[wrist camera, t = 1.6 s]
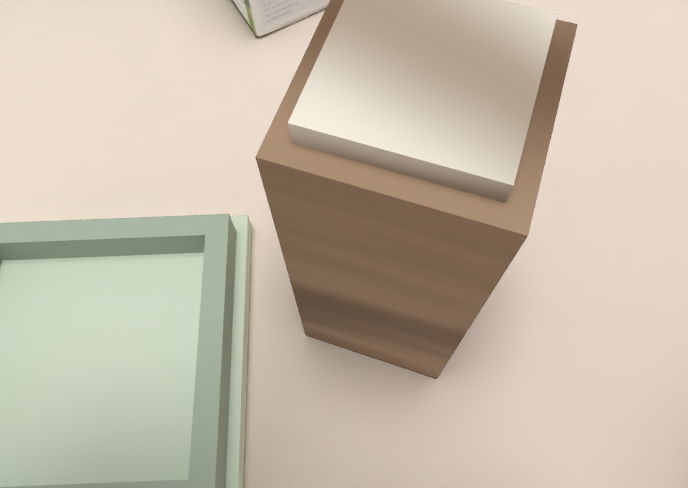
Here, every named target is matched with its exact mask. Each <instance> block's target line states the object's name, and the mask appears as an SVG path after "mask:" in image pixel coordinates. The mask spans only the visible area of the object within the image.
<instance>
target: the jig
mask: <svg viewBox="0 0 688 488" xmlns="http://www.w3.org/2000/svg"><path fill="white" fill-rule="evenodd" d="M251 239H252V226H251V223H250V220H249V217H248V215H242V216H230V215H229V214H214V215H189V216H164V217H139V218H114V219H89V220H64V221H39V222H14V223H0V488H243V485H244V454H245V424H246V393H247V362H248V331H249V301H250V270H251Z"/></svg>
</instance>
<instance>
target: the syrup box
mask: <svg viewBox="0 0 688 488" xmlns="http://www.w3.org/2000/svg"><path fill="white" fill-rule="evenodd" d="M232 1H233V3H234V4H235V6H236V7H237V9H238V10H239V11H240V13H241V14H242V16H243V17H244V19H245V20H246V22H247V23H248V25H249V26H250V28H251V29H252V30H253V32H254V33H255V35H257V36H262V35H265V34H268V33H270V32H273V31H275V30H278V29H280V28H283V27H285V26H288V25H290V24H292V23H294V22H297V21H299V20H301V19H303V18H306V17H308V16H310V15H312V14H314V13H316V12H319V11H321V10H323V9H325V8H327V6H328V4H329V2H330V0H232Z"/></svg>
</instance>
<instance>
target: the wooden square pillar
mask: <svg viewBox="0 0 688 488" xmlns="http://www.w3.org/2000/svg"><path fill="white" fill-rule="evenodd" d="M557 14H558V13H554V12H550V11H546V10H541V9H537V8H533V7H528V6H524V5H520V4H515V3H511V2H507V1H502V0H330V2H329V4H328V6H327V8H326V10H325V12H324V14H323V16H322V19H321V21H320V23H319V25H318V27H317V29H316V31H315V33H314V35H313V37H312V40H311V42H310V44H309V46H308V48H307V50H306V52H305V54H304V56H303V59H302V61H301V63H300V65H299V67H298V69H297V71H296V73H295V75H294V77H293V80H292V82H291V84H290V86H289V88H288V90H287V92H286V94H285V96H284V98H283V101H282V103H281V105H280V107H279V109H278V111H277V113H276V115H275V117H274V120H273V122H272V124H271V126H270V128H269V130H268V132H267V134H266V136H265V138H264V141H263V143H262V145H261V147H260V149H259V151H258V153H257V155H256V160H257V164H258V168H259V171H260V175H261V178H262V182H263V185H264V189H265V192H266V196H267V200H268V203H269V207H270V210H271V214H272V217H273V221H274V224H275V228H276V231H277V235H278V239H279V242H280V246H281V249H282V253H283V256H284V260H285V263H286V267H287V271H288V274H289V278H290V281H291V285H292V288H293V292H294V295H295V299H296V303H297V306H298V310H299V313H300V317H301V320H302V324H303V327H304V331H305V335H306V336H309V337H312V338H315V339H318V340H321V341H324V342H327V343H330V344H333V345H336V346H339V347H342V348H345V349H348V350H351V351H354V352H357V353H360V354H363V355H366V356H369V357H372V358H375V359H378V360H381V361H384V362H387V363H390V364H393V365H396V366H399V367H402V368H405V369H408V370H411V371H414V372H417V373H420V374H423V375H426V376H429V377H432V378H435V379H437V378H438V376H439V374H440V373H441V371H442V370H443V368H444V367H445V365H446V363H447V362H448V360H449V359H450V357H451V356H452V354H453V352H454V351H455V349H456V348H457V346H458V345H459V343H460V341H461V340H462V338H463V337H464V335H465V334H466V332H467V330H468V329H469V327H470V326H471V324H472V323H473V321H474V319H475V318H476V316H477V315H478V313H479V312H480V310H481V308H482V307H483V305H484V304H485V302H486V301H487V299H488V297H489V296H490V294H491V293H492V291H493V290H494V288H495V286H496V285H497V283H498V282H499V280H500V279H501V277H502V275H503V274H504V272H505V271H506V269H507V268H508V266H509V264H510V263H511V261H512V260H513V258H514V257H515V255H516V253H517V252H518V250H519V249H520V247H521V246H522V244H523V242H524V241H525V239H526V238H527V236H528V233H529V228H530V224H531V220H532V216H533V211H534V207H535V203H536V199H537V194H538V190H539V186H540V182H541V177H542V173H543V169H544V165H545V160H546V156H547V152H548V148H549V143H550V139H551V135H552V131H553V126H554V122H555V118H556V114H557V109H558V105H559V101H560V97H561V92H562V88H563V84H564V80H565V75H566V71H567V67H568V63H569V58H570V54H571V50H572V46H573V41H574V37H575V33H576V29H577V24H574V23H569V22H565V21H561V20H556V18H557Z"/></svg>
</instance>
